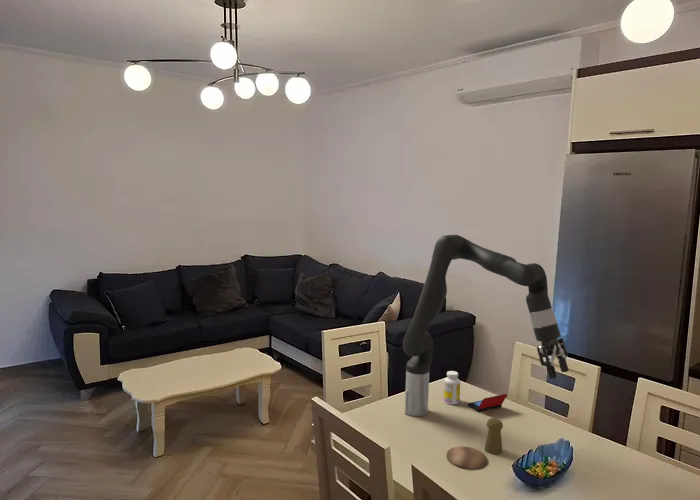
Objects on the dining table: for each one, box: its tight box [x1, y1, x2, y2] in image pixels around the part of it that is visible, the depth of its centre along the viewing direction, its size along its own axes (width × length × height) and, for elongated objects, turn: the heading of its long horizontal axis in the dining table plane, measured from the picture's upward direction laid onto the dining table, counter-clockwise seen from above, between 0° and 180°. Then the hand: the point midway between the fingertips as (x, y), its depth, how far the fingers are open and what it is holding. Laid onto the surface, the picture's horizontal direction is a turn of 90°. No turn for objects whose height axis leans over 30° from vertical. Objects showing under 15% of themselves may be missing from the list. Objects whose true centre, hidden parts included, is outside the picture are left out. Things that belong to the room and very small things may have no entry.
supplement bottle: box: [443, 370, 461, 405], centre depth 210 cm, size 7×7×13 cm
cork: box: [484, 417, 504, 456], centre depth 170 cm, size 6×6×11 cm
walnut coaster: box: [446, 446, 487, 470], centre depth 165 cm, size 13×13×1 cm
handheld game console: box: [467, 393, 508, 413], centre depth 205 cm, size 12×11×7 cm
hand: (559, 374), depth 156 cm, fingers open, 8 cm apart
